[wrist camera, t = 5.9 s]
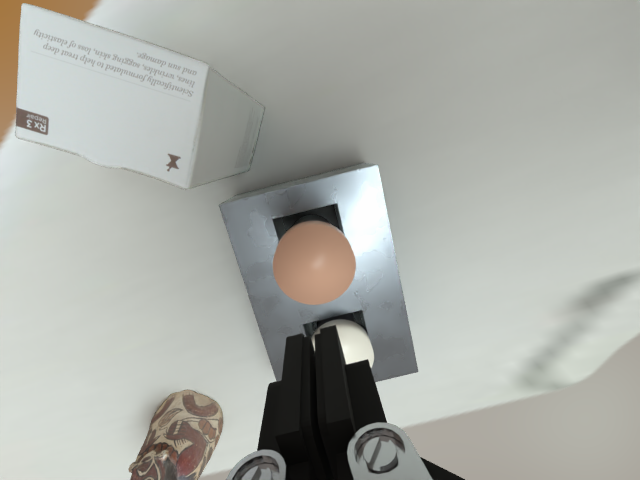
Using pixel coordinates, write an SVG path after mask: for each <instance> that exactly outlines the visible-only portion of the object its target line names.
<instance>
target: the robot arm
mask: <svg viewBox="0 0 640 480" xmlns="http://www.w3.org/2000/svg"><path fill="white" fill-rule="evenodd" d="M226 480H465V479H463V478H461V477H459V476H457V475H455V474H453V473H451V472H449V471H447V470H445V469H443V468H441V467H439V466H437V465H435V464H433V463H431V462H429V461H427V460H425V459H423V458H421V457H420V456H419V454H418V453H417V451H416V449H415V447H414V445H413V444H412V442H411V440H410V438H409V437H408V436H407V434H406V433H405V432H404V431H403V430H402V429H400V428H399V427H397V426H396V425H393V424H390V423H387V421H386V418H385V414H384V411H383V408H382V404H381V401H380V397H379V394H378V391H377V387H376V384H375V381H374V377H373V374H372V371H371V367H370V364H369V361H368V359H367V360H363V361H358V362H354V363H350V364H346V361H345V357H344V353H343V350H342V346H341V342H340V338H339V335H338V331H337V328H336V325H333V326H329V327H325V328H321V329H320V333H319V334H315V350H314V347H313V343H312V340H311V337H310V336H307V337H305V336H304V334H303V333H301V334H297V335H293V336H289V337H287V338H286V345H285V353H284V362H283V371H282V379H281V381H277V382H273V383H270V384H269V386H268V390H267V396H266V402H265V408H264V414H263V420H262V426H261V431H260V437H259V443H258V449H257V451H256V452H253V453H251V454H249V455H247V456H246V457H244V458H243V459H242V460H241V461H239V462H238V463H237V464H236V465H235V467H234V468H233V469H232V470H231V471H230V473H229V475H228V477H227V479H226Z"/></svg>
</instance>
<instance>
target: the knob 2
mask: <svg viewBox="0 0 640 480" xmlns="http://www.w3.org/2000/svg"><path fill="white" fill-rule="evenodd" d="M316 322H317V330H316V331H315V332H314V334H313V335H312V338H311V340H312V343H313V347H314V350H315V334H319V333H320V329H321V328H325V327H329V326H333V325H336V328H337V331H338V335H339V338H340V342H341V346H342V350H343V353H344V357H345V361H346V364H350V363H354V362H358V361H363V360H367V359H368V361H369V364H370V367H371V368H372V366H373V362H374V352H373V348H372V345H371V342H370V339H369V336H368V334H367V333H366V331H365V330H364V329H363V328H362V327H361V326H360V325H359V324H357V323H356V322H355V318H354V315H353V312H351V313H347V314H343V315H339V316H335V317H331V318H327V319H323V320H318V321H316Z"/></svg>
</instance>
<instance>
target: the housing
mask: <svg viewBox="0 0 640 480" xmlns="http://www.w3.org/2000/svg"><path fill="white" fill-rule="evenodd" d="M332 204H334V207H335V211H336V215H337V219H338V224H339V228H340V231H341V232H342V233H343V234H344V235H345V236H346V238H347V239H348V241H349V243H350V245H351V248H352V250H353V252H354V255H355V260H356V270H355V275H354V278H353V281H352V283H351V284H350V286H349V287H348V289H347V290H346V291H345V292H344V293H343V294H342V295H341V296H339V297H338V298H336V299H335V300H333V301H331V302H328V303H325V304H319V305H308V304H303V303H300V302H297V301H295V300H293V299H291V298H290V297H288V296H287V295H286V294H285V293H284V292H283V291H282V290H281V289H280V287H279V286H278V284H277V282H276V280H275V277H274V273H273V258H274V254H275V251H276V248H277V245H278V243H279V241H280V239H281V238H282V236H283V235H284V234H285V233H286V230H285V227H284V223H283V220H282V217H284V216H288V215H292V214H296V213H300V212H304V211H308V210H312V209H316V208H320V207H324V206H328V205H332ZM219 207H220V210H221V213H222V216H223V219H224V222H225V225H226V228H227V231H228V234H229V238H230V241H231V244H232V247H233V250H234V253H235V256H236V259H237V262H238V265H239V268H240V271H241V274H242V277H243V280H244V283H245V286H246V289H247V292H248V295H249V298H250V301H251V304H252V307H253V310H254V314H255V317H256V320H257V323H258V326H259V329H260V332H261V335H262V338H263V341H264V344H265V347H266V350H267V353H268V356H269V359H270V362H271V365H272V368H273V371H274V374H275V377H276V380H277V381H281V379H282V371H283V362H284V353H285V345H286V338H287V337H289V336H293V335H297V334H301V333H303V334H304V336H305V337H307V336H310V337H311V338H312V335H313V334H314V330H313V326H312V323H311V322H314V321H318V320H323V319H327V318H331V317H335V316H339V315H343V314H347V313H351V312H356V311H359V312H360V316H361V321H362V325H363V326H362V328H363V329H364V330H365V331H366V333H367V334H368V336H369V339H370V342H371V345H372V348H373V352H374V362H373V366H372V368H371V371H372V374H373V377H374V381H375V382H378V381H382V380H386V379H390V378H394V377H399V376H403V375H407V374H411V373H416V372H418V367H417V362H416V357H415V352H414V347H413V342H412V337H411V332H410V327H409V322H408V316H407V311H406V306H405V301H404V296H403V291H402V286H401V281H400V276H399V271H398V265H397V260H396V255H395V250H394V245H393V240H392V235H391V230H390V225H389V220H388V214H387V209H386V204H385V199H384V194H383V189H382V184H381V179H380V174H379V169H378V165H376V164H369V163H361V164H357V165H353V166H349V167H345V168H341V169H337V170H334V171H330V172H326V173H322V174H318V175H314V176H310V177H306V178H302V179H298V180H294V181H290V182H286V183H282V184H278V185H274V186H270V187H267V188H263V189H259V190H255V191H251V192H247V193H243V194H239V195H235V196H234V197H232V198H230V199H228V200H227V201H225V202H223V203H221V204H220V205H219Z"/></svg>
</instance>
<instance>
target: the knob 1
mask: <svg viewBox="0 0 640 480" xmlns="http://www.w3.org/2000/svg"><path fill="white" fill-rule="evenodd" d="M355 270H356V260H355V255H354V252H353V250H352V248H351V245H350V243H349V241H348V239H347V238H346V236H345V235H344V234H343V233H342V232H341V231H340V230H339V229H338V228H336V227H335V226H333V225H331V224H330V223H329V222H328V221H327V220H326V219H325V218H323V217H321V216H318V215H307V216H304V217H302V218H300V219H299V220H298V221H297V222H296V223H295V224H294V225H293V227H292V228H290V229H289V230H288V231H287V232H286V233H285V234H284V235H283V236H282V238H281V239H280V241H279V243H278V245H277V248H276V251H275V254H274V258H273V273H274V277H275V280H276V282H277V284H278V286H279V287H280V289H281V290H282V291H283V292H284V293H285V294H286V295H287V296H288V297H290V298H291V299H293V300H295V301H297V302H300V303H303V304H308V305H319V304H325V303H328V302H331V301H333V300H335V299H336V298H338V297H339V296H341V295H342V294H343V293H344V292H345V291H346V290H347V289H348V287H349V286H350V284H351V283H352V281H353V278H354V275H355Z"/></svg>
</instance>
